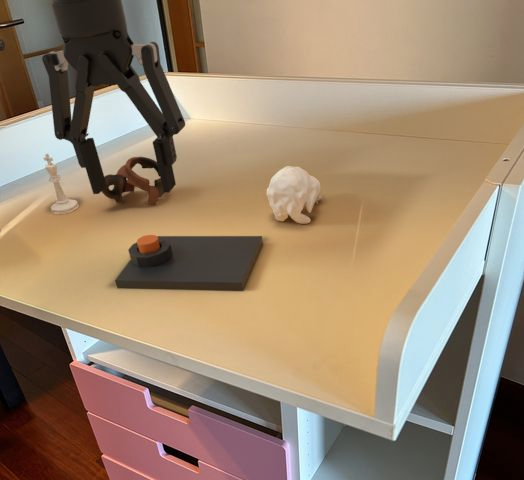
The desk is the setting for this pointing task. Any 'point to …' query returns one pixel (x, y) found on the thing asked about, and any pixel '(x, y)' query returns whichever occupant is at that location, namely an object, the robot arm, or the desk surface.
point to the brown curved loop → (133, 181)
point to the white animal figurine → (293, 194)
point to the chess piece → (59, 191)
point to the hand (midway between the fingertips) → (134, 189)
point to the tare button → (148, 244)
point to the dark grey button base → (192, 263)
